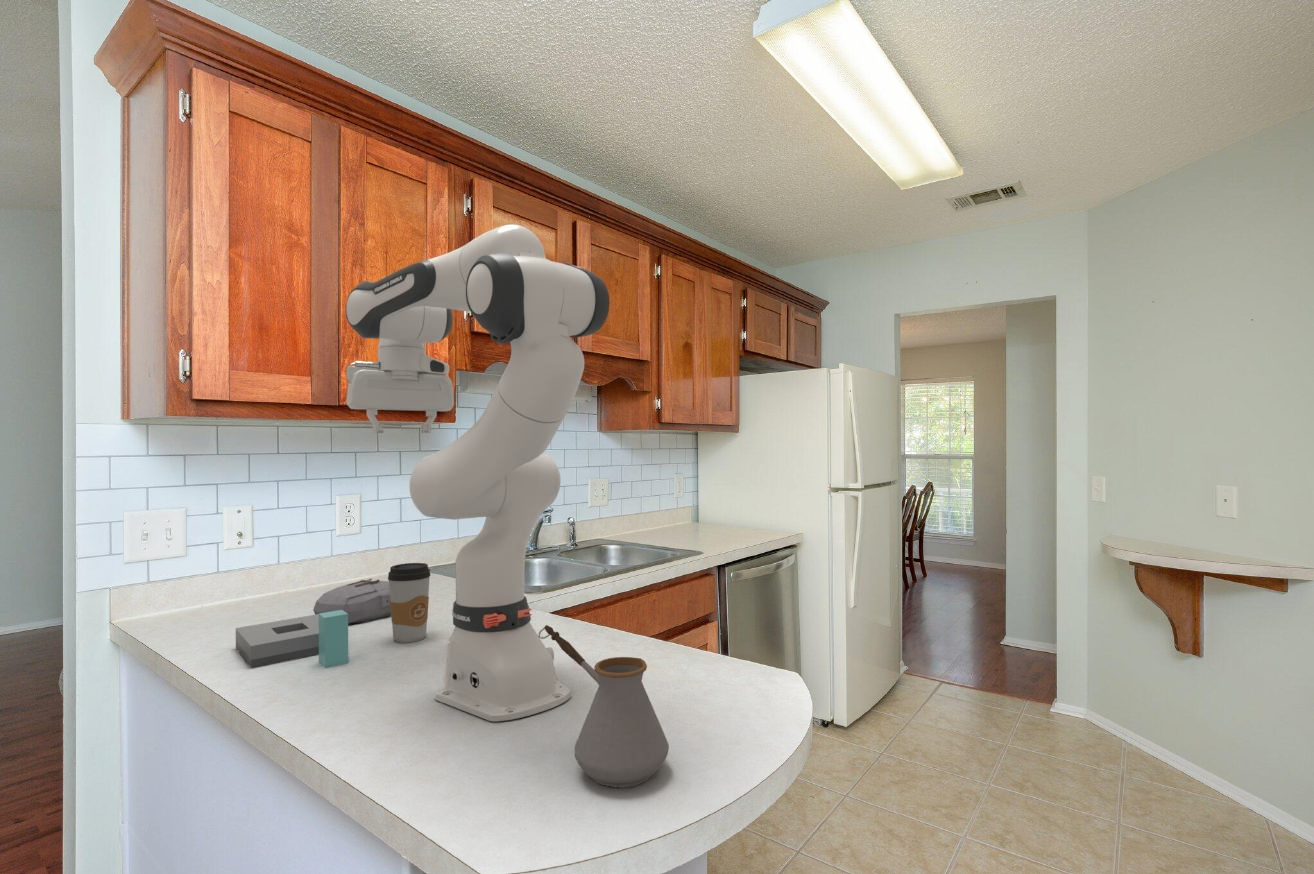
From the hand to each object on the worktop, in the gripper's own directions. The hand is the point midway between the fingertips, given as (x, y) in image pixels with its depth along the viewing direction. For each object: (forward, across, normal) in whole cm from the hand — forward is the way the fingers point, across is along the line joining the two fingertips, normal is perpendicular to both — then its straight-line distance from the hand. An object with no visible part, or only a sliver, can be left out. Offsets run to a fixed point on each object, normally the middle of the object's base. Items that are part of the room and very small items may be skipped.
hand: (402, 433), depth 129 cm
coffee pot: (+43, +2, -63) cm, 76 cm away
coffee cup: (+43, +3, +5) cm, 43 cm away
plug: (+43, -13, 0) cm, 45 cm away
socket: (+42, -17, +15) cm, 48 cm away
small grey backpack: (+43, +1, +31) cm, 53 cm away
